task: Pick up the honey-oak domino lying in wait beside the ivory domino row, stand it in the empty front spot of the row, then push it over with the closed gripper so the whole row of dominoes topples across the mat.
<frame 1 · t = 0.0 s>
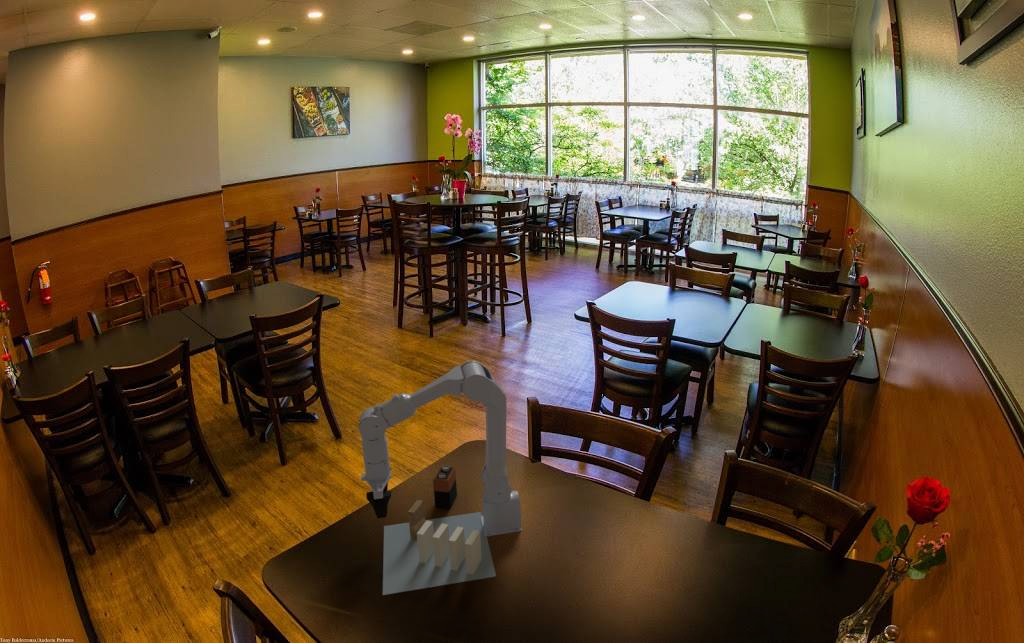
hand: (382, 507, 141), 10 cm above the table, tool pointing down, fingers open, 7 cm apart
domino 3: (442, 559, 137), resting on mat
mat: (436, 550, 141), on the table
domino 4: (458, 562, 136), resting on mat
oak domino: (418, 533, 146), resting on mat
battery: (446, 503, 159), on the table
domino 2: (427, 555, 139), resting on mat
domino 5: (474, 566, 135), resting on mat
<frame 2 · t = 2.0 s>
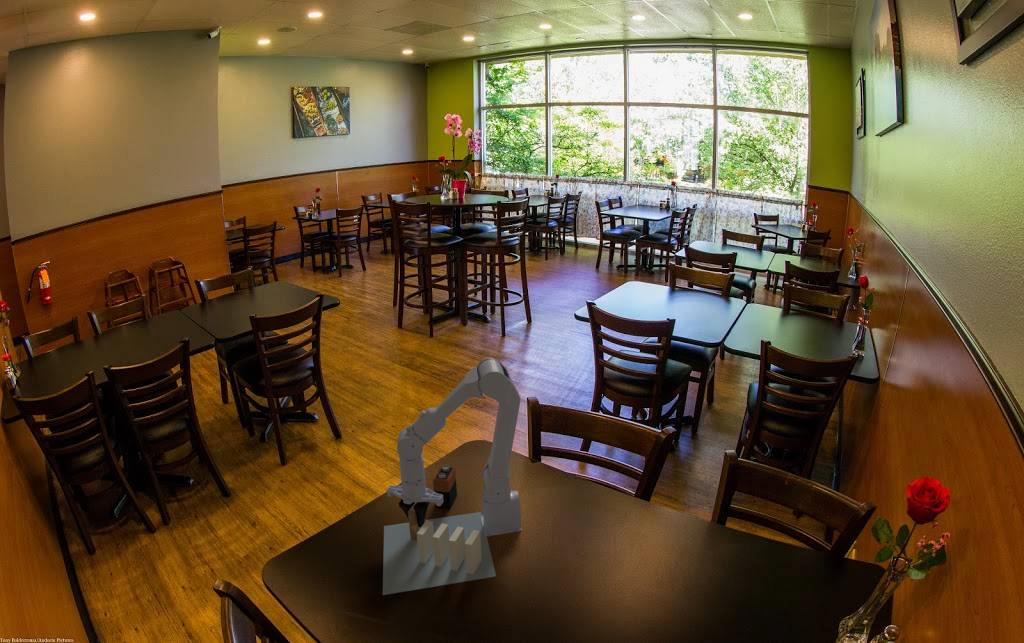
hand: (417, 524, 146), 3 cm above the table, tool pointing down, fingers closed on oak domino, 2 cm apart
oak domino: (418, 533, 146), resting on mat, touching gripper
everything else where it was.
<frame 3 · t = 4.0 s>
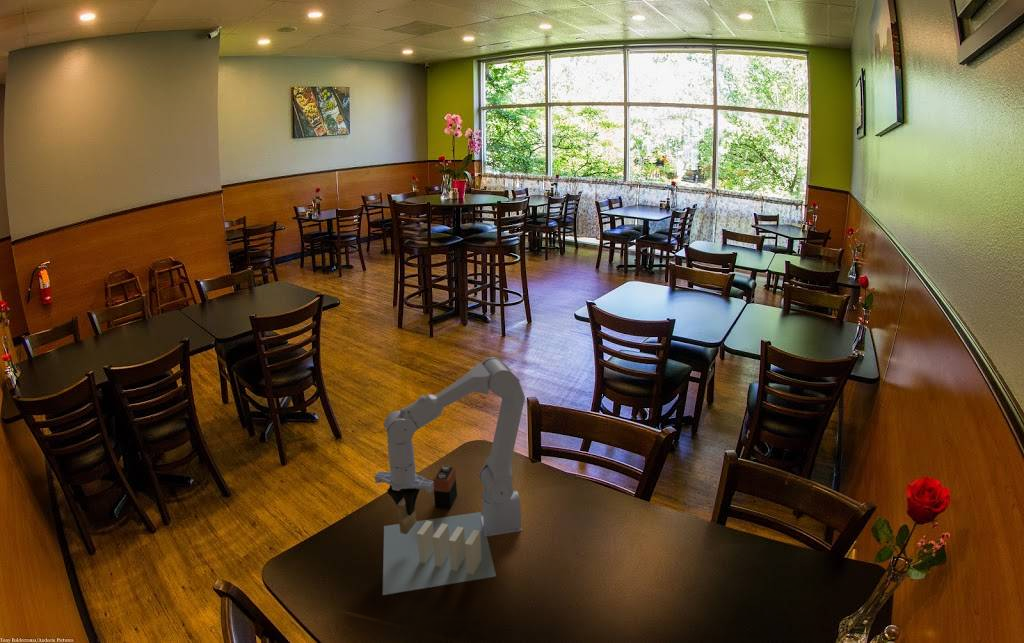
hand: (407, 511, 139), 10 cm above the table, tool pointing down, fingers closed on oak domino
oak domino: (408, 527, 141), point 6 cm above the table, touching gripper
everything else where it was.
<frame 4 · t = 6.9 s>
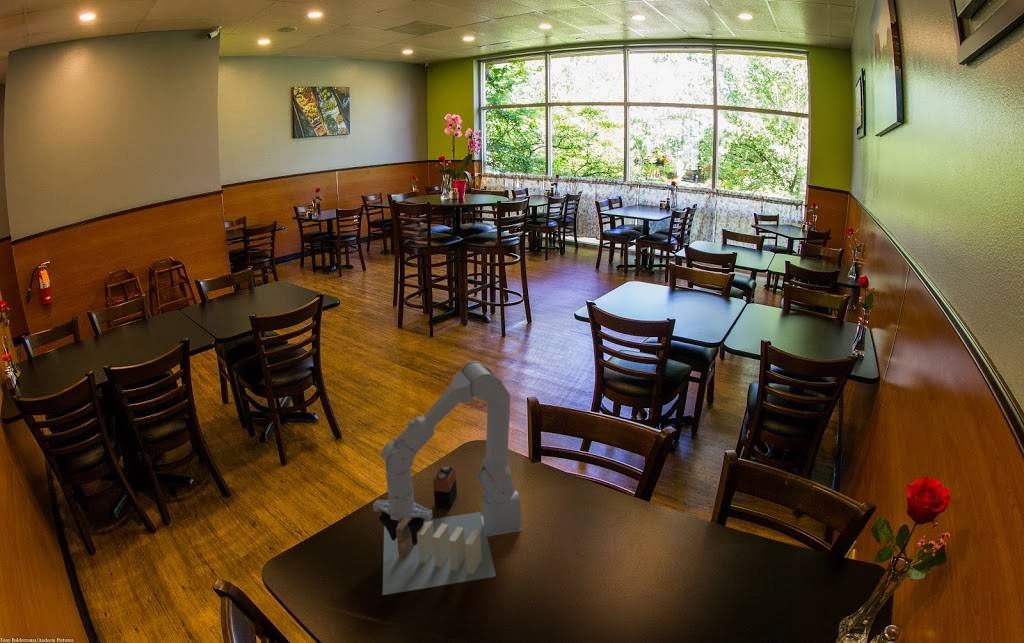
hand: (405, 540, 139), 4 cm above the table, tool pointing down, fingers open, 5 cm apart
oak domino: (407, 550, 140), resting on mat
everything else where it was.
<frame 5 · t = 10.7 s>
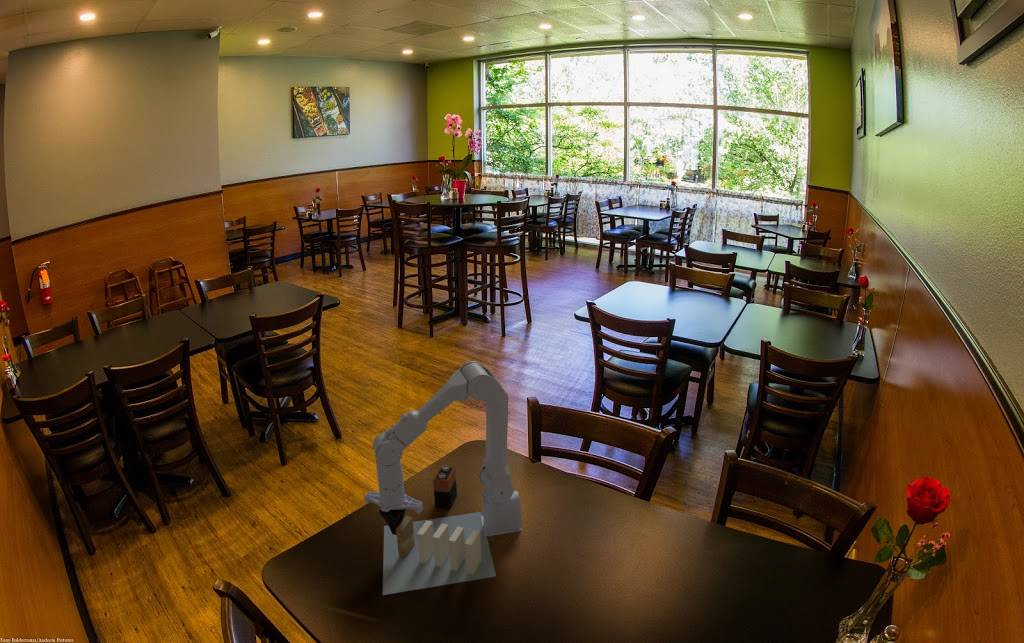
hand: (396, 532, 140), 5 cm above the table, tool pointing down, fingers closed
oak domino: (407, 550, 140), resting on mat, touching gripper
everything else where it was.
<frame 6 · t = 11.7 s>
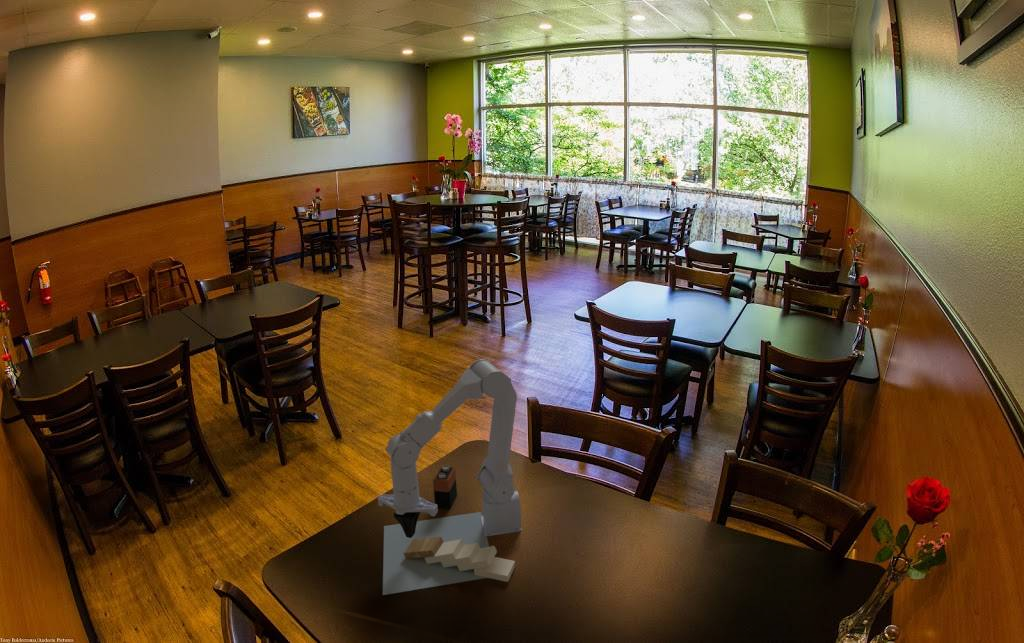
hand: (410, 535, 138), 5 cm above the table, tool pointing down, fingers closed
domino 3: (446, 557, 137), point 1 cm above the table, tilted 67°, touching domino 2, domino 4
domino 4: (462, 560, 135), point 1 cm above the table, tilted 66°, touching domino 3, domino 5
oak domino: (409, 548, 140), point 1 cm above the table, tilted 71°, touching domino 2, mat
domino 2: (430, 554, 138), point 1 cm above the table, tilted 67°, touching domino 3, mat, oak domino
domino 5: (478, 564, 134), point 1 cm above the table, tilted 90°, touching domino 4, mat
everything else where it was.
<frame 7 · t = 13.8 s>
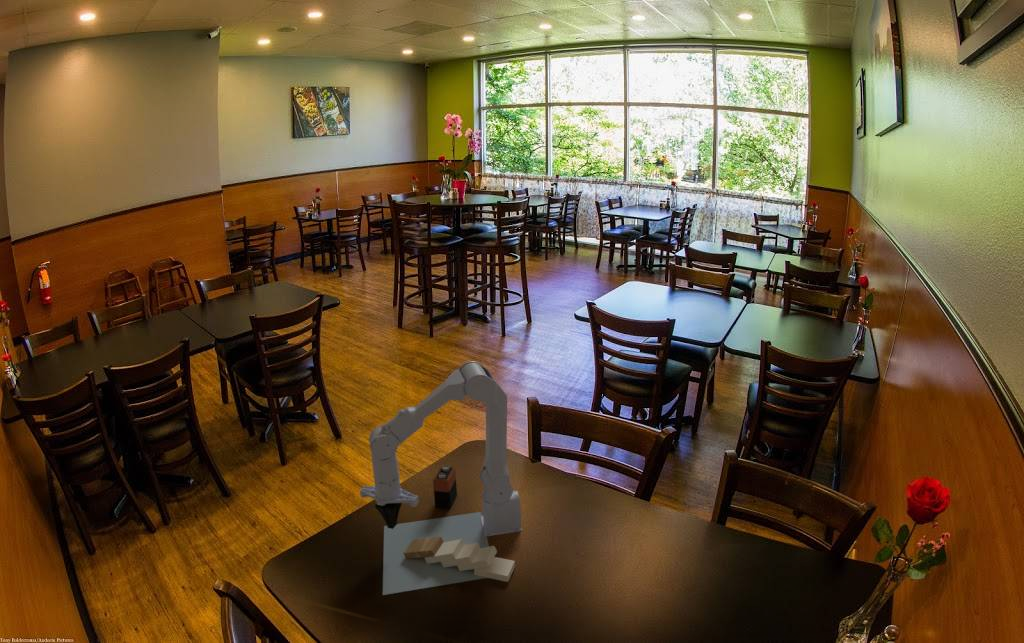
hand: (392, 525, 141), 6 cm above the table, tool pointing down, fingers closed
domino 3: (446, 557, 137), point 1 cm above the table, tilted 66°, touching domino 2, domino 4, mat
everything else where it was.
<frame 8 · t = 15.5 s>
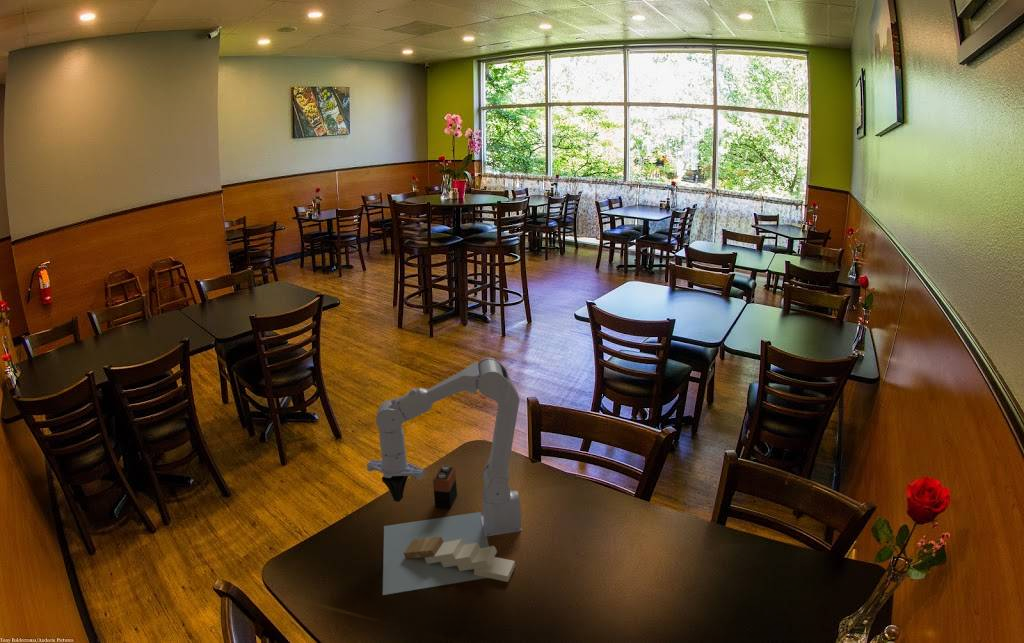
hand: (398, 499, 144), 10 cm above the table, tool pointing down, fingers closed
nothing on the table moved.
at the end: domino 5 tilted 90°; domino 3 tilted 66°; oak domino inside the target area (0.3 cm from its centre), point 1.2 cm above the table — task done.
